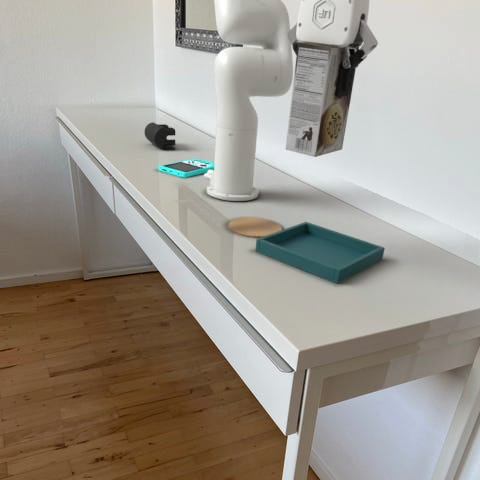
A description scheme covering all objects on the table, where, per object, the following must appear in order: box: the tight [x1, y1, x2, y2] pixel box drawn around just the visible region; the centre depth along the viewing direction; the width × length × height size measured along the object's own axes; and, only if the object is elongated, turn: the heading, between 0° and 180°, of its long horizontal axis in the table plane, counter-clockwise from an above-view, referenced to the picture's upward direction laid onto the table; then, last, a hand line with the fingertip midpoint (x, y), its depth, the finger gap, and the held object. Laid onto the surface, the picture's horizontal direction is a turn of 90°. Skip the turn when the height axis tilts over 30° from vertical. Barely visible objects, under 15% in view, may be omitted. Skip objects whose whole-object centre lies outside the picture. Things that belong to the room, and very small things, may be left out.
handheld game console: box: [157, 158, 214, 178], centre depth 141 cm, size 10×16×1 cm, turn 143°
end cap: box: [143, 121, 176, 151], centre depth 163 cm, size 10×7×7 cm
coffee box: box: [285, 43, 360, 158], centre depth 83 cm, size 9×6×16 cm
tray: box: [254, 221, 385, 284], centre depth 92 cm, size 18×16×2 cm
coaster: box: [228, 217, 283, 238], centre depth 103 cm, size 11×11×1 cm
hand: (322, 91), depth 82 cm, fingers closed on coffee box, 6 cm apart
